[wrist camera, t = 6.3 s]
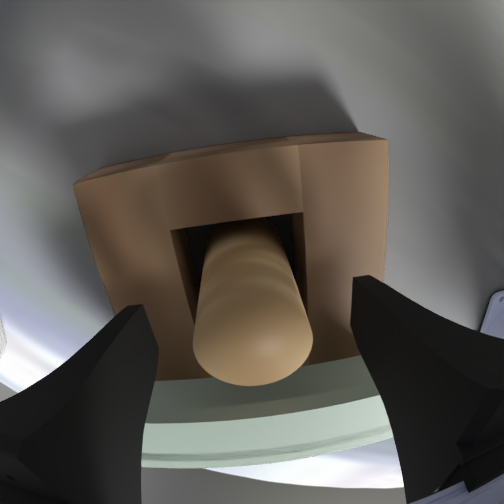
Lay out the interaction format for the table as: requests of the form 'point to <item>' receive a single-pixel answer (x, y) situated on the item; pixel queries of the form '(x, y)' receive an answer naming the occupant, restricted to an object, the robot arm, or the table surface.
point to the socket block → (239, 208)
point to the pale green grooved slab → (264, 418)
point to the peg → (249, 307)
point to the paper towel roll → (2, 340)
